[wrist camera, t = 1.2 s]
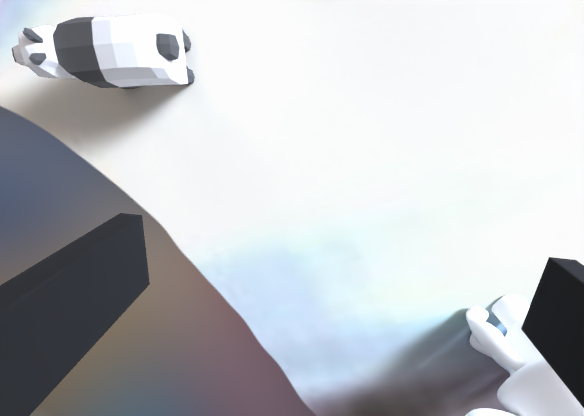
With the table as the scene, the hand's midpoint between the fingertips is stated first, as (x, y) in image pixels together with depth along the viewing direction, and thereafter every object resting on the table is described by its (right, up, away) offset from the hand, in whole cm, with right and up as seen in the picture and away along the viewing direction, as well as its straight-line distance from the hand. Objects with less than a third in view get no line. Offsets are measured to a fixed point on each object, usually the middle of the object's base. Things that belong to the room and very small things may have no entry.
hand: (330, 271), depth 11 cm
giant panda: (-17, +17, +23) cm, 34 cm away
